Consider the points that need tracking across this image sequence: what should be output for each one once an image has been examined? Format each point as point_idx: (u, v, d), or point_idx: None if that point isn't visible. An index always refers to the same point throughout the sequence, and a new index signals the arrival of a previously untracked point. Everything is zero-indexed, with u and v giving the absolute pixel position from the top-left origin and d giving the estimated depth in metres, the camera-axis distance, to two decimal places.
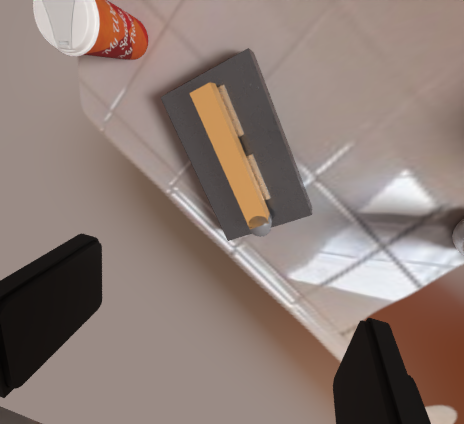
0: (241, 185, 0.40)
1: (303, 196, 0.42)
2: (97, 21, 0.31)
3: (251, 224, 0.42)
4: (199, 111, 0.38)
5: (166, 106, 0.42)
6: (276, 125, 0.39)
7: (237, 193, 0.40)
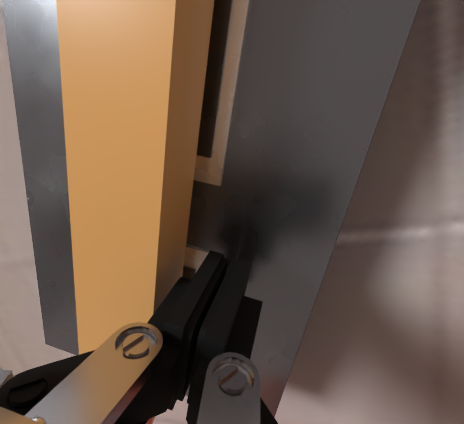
0: (115, 88, 0.07)
1: None
2: None
3: None
4: None
5: (272, 407, 0.15)
6: (28, 187, 0.14)
7: (152, 52, 0.07)
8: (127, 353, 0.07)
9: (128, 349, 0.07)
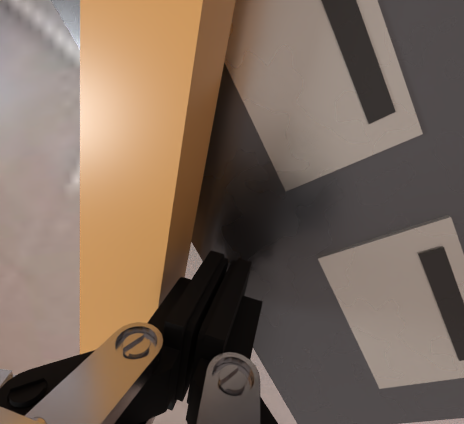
0: (133, 101, 0.07)
1: (77, 36, 0.11)
2: None
3: None
4: None
5: None
6: None
7: (173, 71, 0.07)
8: (127, 353, 0.07)
9: (128, 349, 0.07)
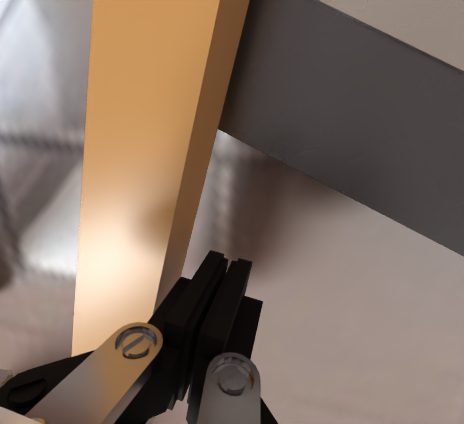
0: (143, 96, 0.07)
1: None
2: None
3: None
4: None
5: None
6: (456, 246, 0.10)
7: (185, 67, 0.07)
8: (127, 353, 0.07)
9: (128, 349, 0.07)
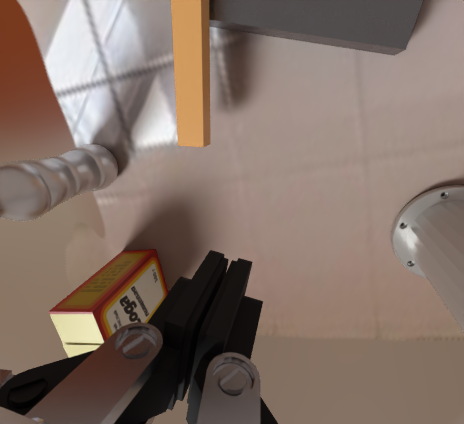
0: (186, 0, 0.27)
1: None
2: None
3: None
4: (200, 123, 0.31)
5: None
6: (299, 31, 0.29)
7: None
8: (127, 353, 0.07)
9: (128, 349, 0.07)
